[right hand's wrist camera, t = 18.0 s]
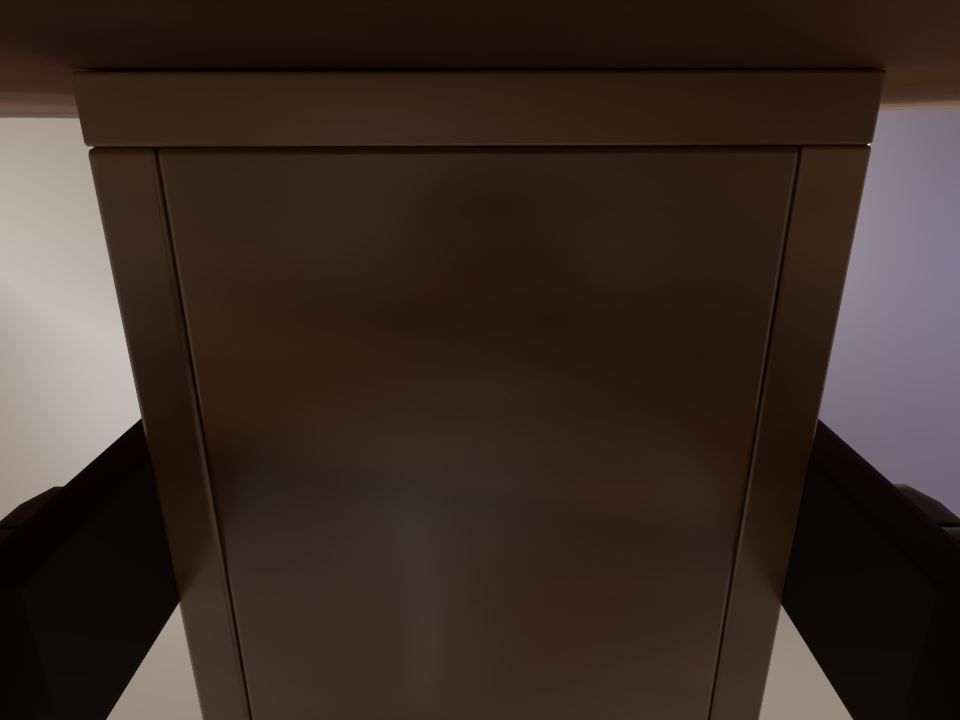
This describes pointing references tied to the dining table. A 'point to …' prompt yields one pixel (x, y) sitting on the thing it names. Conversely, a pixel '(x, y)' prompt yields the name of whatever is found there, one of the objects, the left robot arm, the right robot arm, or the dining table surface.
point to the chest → (480, 374)
